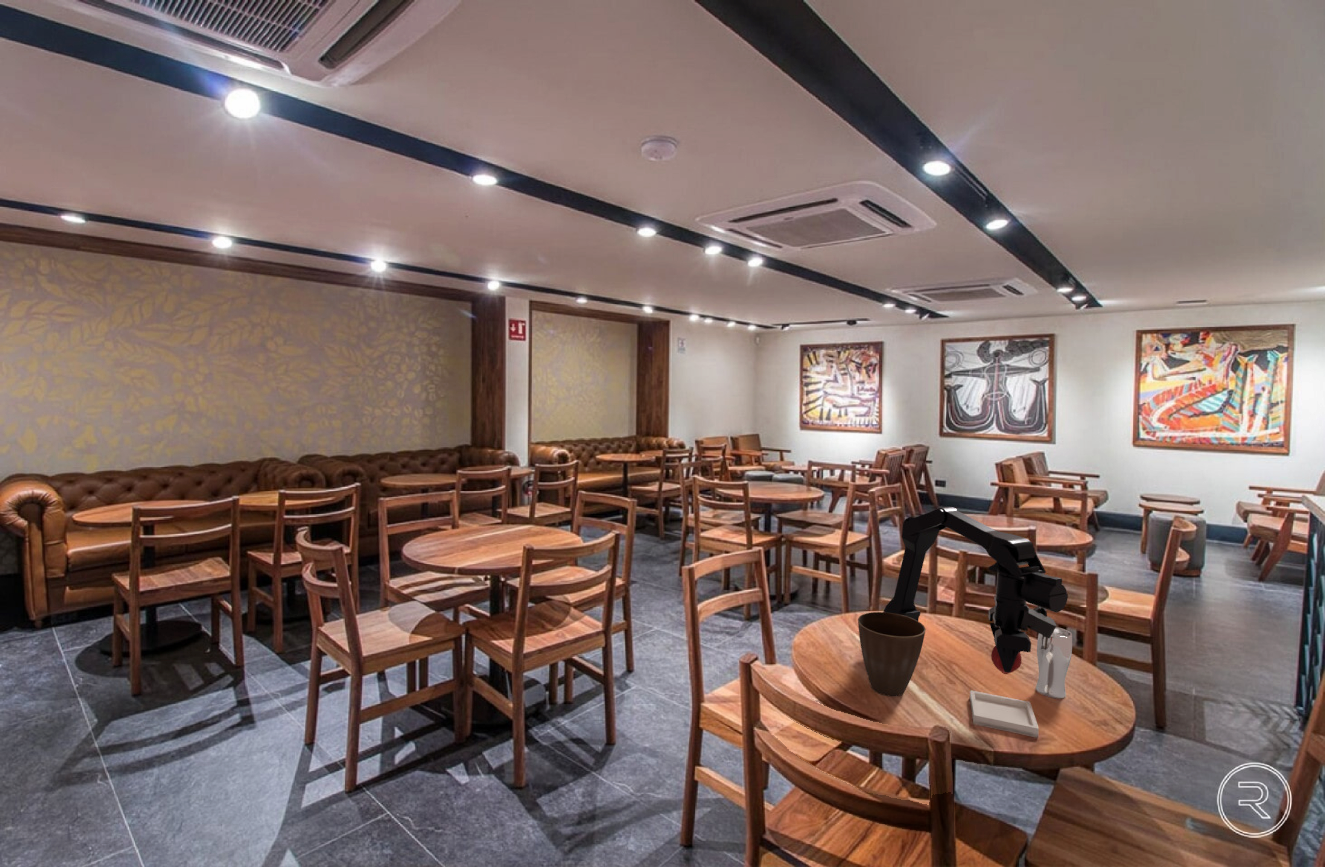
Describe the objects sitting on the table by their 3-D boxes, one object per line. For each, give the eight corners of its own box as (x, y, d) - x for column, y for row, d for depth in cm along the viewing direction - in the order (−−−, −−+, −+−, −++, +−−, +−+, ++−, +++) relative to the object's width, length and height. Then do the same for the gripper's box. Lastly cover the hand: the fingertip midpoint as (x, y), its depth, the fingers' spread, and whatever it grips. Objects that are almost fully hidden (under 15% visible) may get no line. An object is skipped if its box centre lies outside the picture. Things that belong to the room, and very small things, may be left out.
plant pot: (922, 710, 139) (927, 640, 137) (852, 697, 144) (856, 629, 142) (920, 681, 152) (924, 617, 151) (856, 670, 158) (859, 608, 156)
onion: (1019, 682, 132) (1022, 646, 132) (988, 675, 135) (991, 639, 135) (1020, 672, 137) (1023, 637, 136) (991, 665, 140) (993, 630, 139)
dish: (973, 723, 134) (973, 714, 134) (969, 698, 145) (970, 690, 145) (1038, 737, 129) (1038, 728, 129) (1029, 710, 140) (1029, 701, 140)
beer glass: (1073, 701, 145) (1078, 638, 144) (1040, 697, 146) (1045, 635, 145) (1060, 687, 152) (1065, 627, 150) (1029, 683, 153) (1033, 624, 152)
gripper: (1063, 617, 123) (1056, 693, 124) (1046, 589, 140) (1041, 656, 142) (999, 607, 127) (993, 681, 129) (990, 581, 144) (985, 647, 146)
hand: (1005, 665), depth 136 cm, fingers closed on onion, 6 cm apart
